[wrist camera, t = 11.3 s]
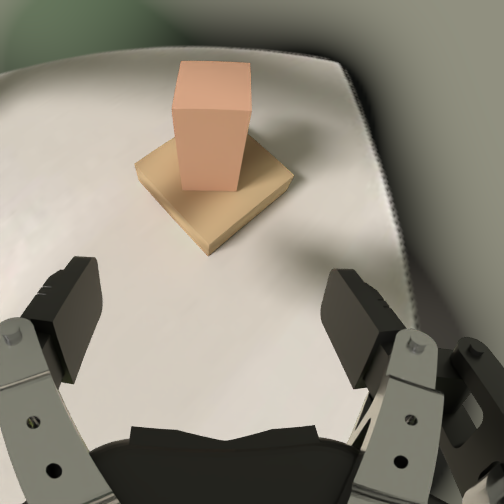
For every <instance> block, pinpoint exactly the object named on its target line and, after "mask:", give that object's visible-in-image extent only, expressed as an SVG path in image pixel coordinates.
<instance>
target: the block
mask: <svg viewBox="0 0 504 504" xmlns="http://www.w3.org/2000/svg"><path fill="white" fill-rule="evenodd" d="M251 112H252V106H251V71H250V63H241V62H222V61H181V63H180V68H179V73H178V78H177V83H176V88H175V93H174V99H173V104H172V116H173V125H174V133H175V141H176V148H177V156H178V163H179V170H180V177H181V184H182V190H194V191H237V185H238V180H239V174H240V169H241V164H242V158H243V153H244V148H245V143H246V137H247V132H248V127H249V122H250V117H251Z"/></svg>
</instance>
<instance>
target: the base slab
mask: <svg viewBox="0 0 504 504" xmlns="http://www.w3.org/2000/svg"><path fill="white" fill-rule="evenodd" d="M135 168H136V172H137V176H138V179H139V181H140V182H141V183H142V185H143V186H144V187H145V188H146V189H147V190H148V191H149V192H150V193H151V195H152V196H153V197H154V198H155V199H156V200H157V201H158V202H159V204H160V205H161V206H162V207H163V208H164V209H165V210H166V211H167V212H168V213H169V215H170V216H171V217H172V218H173V219H174V220H175V221H176V222H177V223H178V224H179V225H180V227H181V228H182V229H183V230H184V231H185V232H186V233H187V234H188V235H189V236H190V237H191V239H192V240H193V241H194V242H195V243H196V244H197V245H198V246H199V247H200V248H201V249H202V250H203V251H204V253H205V254H206V255H207V256H209V255H210V254H211V253H213V252H214V251H215V250H216V249H217V248H218V247H220V246H221V245H222V244H223V243H224V242H226V241H227V240H228V239H229V238H230V237H231V236H233V235H234V234H235V233H236V232H237V231H239V230H240V229H241V228H242V227H243V226H245V225H246V224H247V223H248V222H249V221H251V220H252V219H253V218H254V217H255V216H257V215H258V214H259V213H260V212H261V211H263V210H264V209H265V208H266V207H267V206H269V205H270V204H271V203H272V202H273V201H275V200H276V199H277V198H278V197H279V196H281V195H282V194H283V193H284V192H286V191H287V189H288V187H289V185H290V183H291V181H292V179H293V177H294V174H292V173H291V172H290V171H289V170H288V169H287V168H286V167H285V166H284V165H283V164H281V163H280V162H279V161H278V160H277V159H276V158H275V157H274V156H273V155H271V154H270V153H269V152H268V151H267V150H266V149H265V148H264V147H262V146H261V145H260V144H259V143H258V142H257V141H256V140H254V139H253V138H252V137H251V136H250V135H249V134H247V137H246V143H245V148H244V153H243V158H242V164H241V169H240V174H239V180H238V185H237V191H194V190H182V184H181V177H180V170H179V163H178V156H177V148H176V141H175V137H174V138H173V139H171V140H169V141H168V142H166V143H165V144H163V145H162V146H160V147H159V148H157V149H156V150H154V151H153V152H151V153H150V154H148V155H147V156H145V157H144V158H142V159H141V160H139V161H138V162H136V163H135Z"/></svg>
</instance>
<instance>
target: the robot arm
mask: <svg viewBox="0 0 504 504" xmlns="http://www.w3.org/2000/svg"><path fill="white" fill-rule="evenodd" d="M101 312H102V292H101V286H100V279H99V271H98V263H97V260H96V258H95V257H79V256H74V257H73V258H72V260H71V261H70V262H69V263H68V265H67V266H66V267H65V269H64V270H59V271H57V272H56V273H54V274H53V275H51V276H50V277H49V278H48V279H47V281H46V282H45V283H44V285H43V288H42V287H41V289H40V290H39V291H38V293H37V295H35V297H34V298H33V300H32V301H31V302H30V304H29V305H28V307H27V308H26V310H25V311H24V312H23V314H22V315H21V317H16V318H10V319H7V320H4V321H2V322H1V323H0V427H1V431H2V434H3V438H4V441H5V444H6V447H7V451H8V454H9V457H10V460H11V462H12V465H13V468H14V471H15V473H16V476H17V479H18V481H19V484H20V486H21V489H22V491H23V493H24V496H25V498H26V501H25V502H24V503H22V504H448V503H446V502H444V501H442V500H440V499H438V498H437V497H435V496H433V495H431V494H430V489H431V484H432V479H433V474H434V469H435V464H436V458H437V453H438V446H440V448H441V451H442V453H443V455H444V457H445V459H446V461H447V464H448V466H449V468H450V470H451V472H452V475H453V477H454V479H455V482H456V484H457V486H458V488H459V491H460V493H461V496H462V498H463V502H462V504H504V368H503V366H502V365H501V364H500V363H499V361H498V360H497V359H496V357H495V356H494V355H493V354H492V352H491V351H490V350H489V349H488V347H487V346H485V345H484V344H483V343H482V342H480V341H478V340H476V339H473V338H470V337H464V338H461V339H460V340H459V341H458V343H457V345H456V347H455V348H454V350H449V349H441V348H437V345H436V343H435V342H434V340H433V339H432V338H431V337H430V336H428V335H427V334H425V333H423V332H421V331H418V330H414V329H407V328H406V327H405V326H404V324H403V323H402V322H401V321H400V319H399V318H398V317H397V315H396V314H395V313H394V312H393V310H392V309H391V308H389V305H388V304H387V303H386V301H384V299H383V298H382V296H381V295H380V294H379V293H378V291H377V290H375V289H374V288H373V287H371V286H370V285H368V284H367V283H364V281H363V280H362V279H361V278H360V276H359V275H358V274H357V273H356V271H355V270H353V269H332V270H331V272H330V274H329V278H328V282H327V286H326V289H325V293H324V297H323V301H322V305H321V321H322V324H323V326H324V328H325V330H326V332H327V334H328V336H329V338H330V340H331V343H332V345H333V347H334V349H335V351H336V353H337V355H338V357H339V359H340V362H341V364H342V366H343V368H344V370H345V372H346V374H347V377H348V379H349V381H350V383H351V385H352V387H353V389H359V388H366V387H367V388H368V390H369V392H368V394H367V396H366V398H365V400H364V403H363V405H362V408H361V411H360V413H359V416H358V418H357V421H356V423H355V426H354V428H353V431H352V433H351V435H350V438H349V440H348V442H347V444H345V443H343V442H339V441H336V440H333V439H327V438H321V437H318V434H317V431H316V428H315V425H312V426H303V427H293V428H282V429H271V430H268V431H264V432H260V433H257V434H253V435H249V436H245V437H241V438H237V439H233V440H228V441H223V440H217V439H212V438H208V437H203V436H199V435H195V434H191V433H187V432H183V431H179V430H169V429H155V428H144V427H134V426H131V433H130V439H123V440H119V441H114V442H111V443H108V444H105V445H102V446H100V447H98V448H96V449H94V450H92V451H89V449H88V448H87V446H86V444H85V442H84V441H83V439H82V437H81V435H80V433H79V431H78V430H77V428H76V426H75V424H74V422H73V420H72V418H71V416H70V414H69V412H68V410H67V407H66V405H65V403H64V401H63V399H62V397H61V394H60V392H59V390H58V389H59V387H60V384H61V382H63V383H69V384H74V383H75V380H76V377H77V374H78V372H79V369H80V366H81V363H82V361H83V358H84V355H85V353H86V350H87V348H88V345H89V343H90V340H91V338H92V335H93V333H94V330H95V328H96V325H97V323H98V320H99V318H100V316H101ZM470 393H472V394H473V396H474V397H475V399H476V400H477V402H478V404H479V405H480V407H481V409H482V411H483V421H482V424H481V425H480V427H479V428H478V429H476V427H475V425H474V423H473V422H472V420H471V418H470V416H469V415H468V413H467V411H466V410H465V408H464V406H463V405H462V404H463V403H464V401H465V400H466V399H467V397H468V396H469V395H470Z"/></svg>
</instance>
